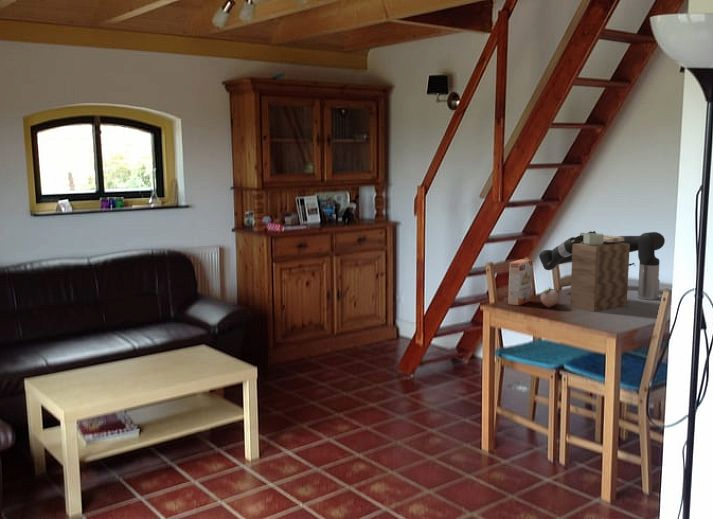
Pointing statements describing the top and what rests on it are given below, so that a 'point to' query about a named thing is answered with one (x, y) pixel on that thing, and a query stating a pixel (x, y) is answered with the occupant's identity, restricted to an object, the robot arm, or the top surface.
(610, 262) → the stand
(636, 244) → the robot arm
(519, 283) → the cracker box
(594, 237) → the pale grey block
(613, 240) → the lid
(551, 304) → the decorative fruit
